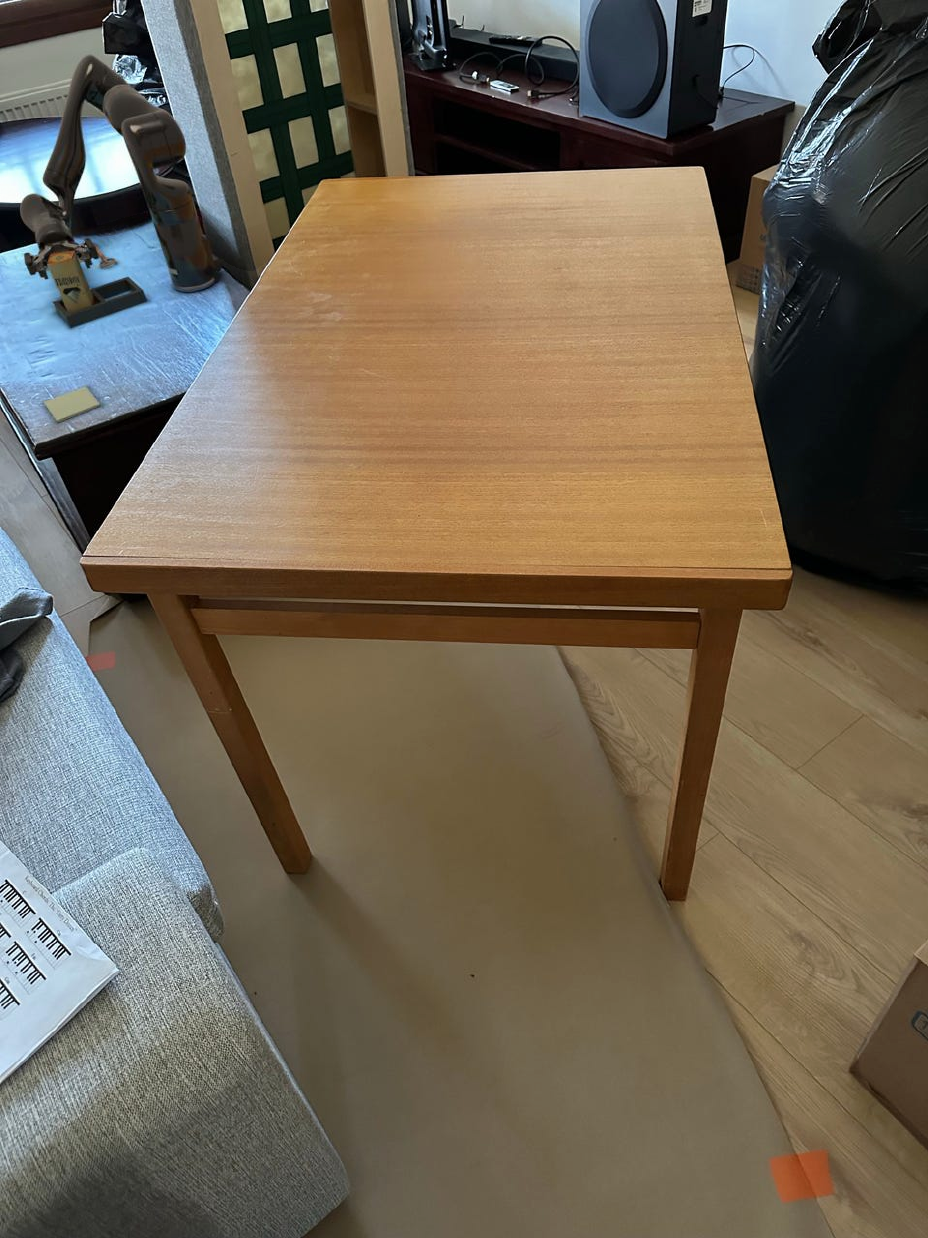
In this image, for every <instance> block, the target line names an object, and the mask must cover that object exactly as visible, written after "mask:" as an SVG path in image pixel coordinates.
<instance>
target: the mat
mask: <svg viewBox="0 0 928 1238" xmlns="http://www.w3.org/2000/svg"><path fill="white" fill-rule="evenodd" d="M43 404H44V406H45V407H46V409H47V410H48V411H49V413H50V414H51V415H52V417H53V419H54V420H55V421H56V423H61V422H63V421H66V420H68V419H71V418H73V417H76V416H79V415H82V414H84V413H87V412H89V411H92V410H94V409H96V408H99V407H101V403H100V402H99V401H98V400H97V398H95V396H94V395H93V393H92V392H91V391H90V390H89V389H88V387H87V386H82V387H79V388H76V389H75V390H72V391H70V392H67V393H64V394H62V395H59V396H56V397H54V398H51V399H47V400H45V401H43Z"/></svg>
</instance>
